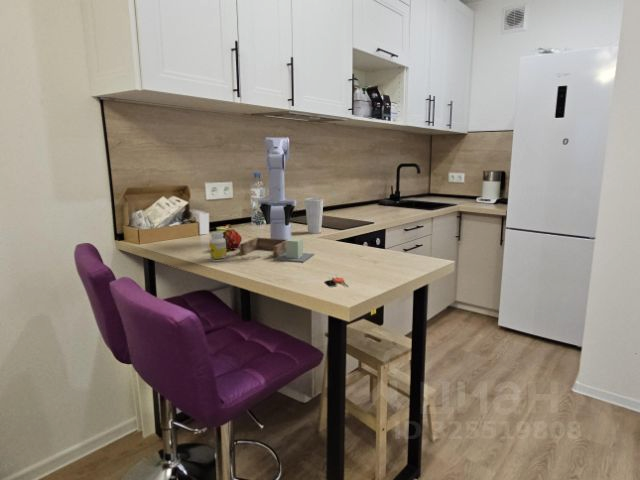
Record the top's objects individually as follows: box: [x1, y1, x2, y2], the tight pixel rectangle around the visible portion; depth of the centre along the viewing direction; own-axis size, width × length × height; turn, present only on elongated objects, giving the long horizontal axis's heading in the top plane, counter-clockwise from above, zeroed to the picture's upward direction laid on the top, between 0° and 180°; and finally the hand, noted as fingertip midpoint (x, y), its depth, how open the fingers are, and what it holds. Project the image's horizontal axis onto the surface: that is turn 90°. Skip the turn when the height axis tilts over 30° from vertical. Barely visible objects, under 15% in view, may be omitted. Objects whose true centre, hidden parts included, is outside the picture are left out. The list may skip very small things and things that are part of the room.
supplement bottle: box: [209, 230, 228, 263], centre depth 144 cm, size 5×5×10 cm
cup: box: [304, 197, 324, 234], centre depth 191 cm, size 8×8×16 cm
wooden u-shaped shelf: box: [239, 237, 286, 259], centre depth 155 cm, size 13×14×4 cm
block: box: [286, 237, 304, 258], centre depth 147 cm, size 4×4×6 cm
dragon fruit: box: [222, 228, 243, 251], centre depth 160 cm, size 8×8×12 cm
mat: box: [273, 252, 315, 263], centre depth 147 cm, size 11×11×1 cm
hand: (277, 224), depth 153 cm, fingers open, 7 cm apart
